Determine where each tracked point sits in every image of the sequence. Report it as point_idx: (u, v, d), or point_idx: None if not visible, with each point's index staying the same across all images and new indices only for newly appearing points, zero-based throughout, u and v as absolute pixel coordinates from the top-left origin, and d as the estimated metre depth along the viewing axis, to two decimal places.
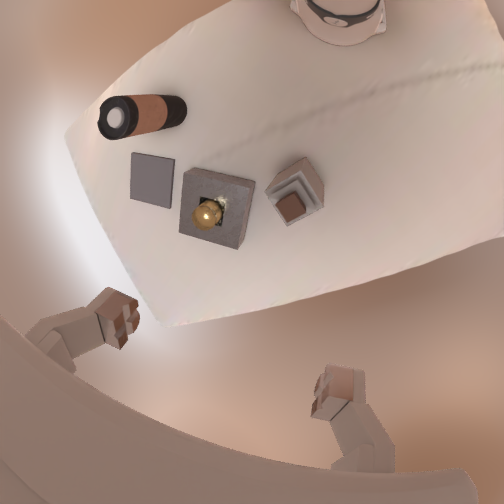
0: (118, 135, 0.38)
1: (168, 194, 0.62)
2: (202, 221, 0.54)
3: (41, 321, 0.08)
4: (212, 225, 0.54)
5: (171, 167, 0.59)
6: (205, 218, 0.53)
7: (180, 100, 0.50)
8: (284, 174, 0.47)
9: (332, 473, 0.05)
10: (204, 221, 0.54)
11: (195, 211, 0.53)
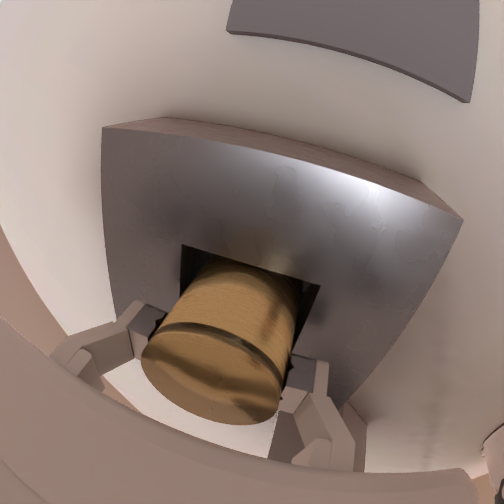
0: None
1: (301, 31, 0.09)
2: (189, 383, 0.09)
3: (67, 339, 0.08)
4: (183, 405, 0.10)
5: (441, 81, 0.08)
6: (210, 398, 0.09)
7: None
8: None
9: (332, 473, 0.05)
10: (192, 390, 0.09)
11: (245, 374, 0.07)
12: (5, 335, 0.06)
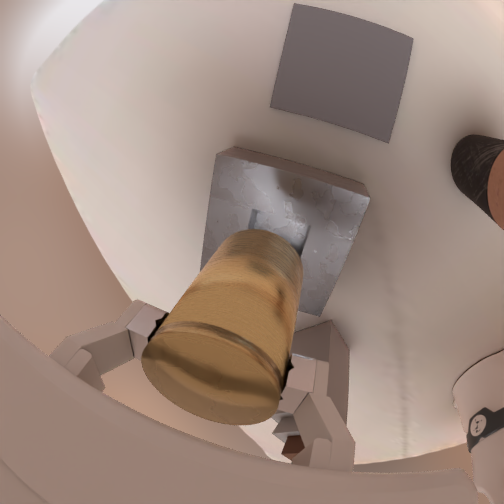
0: None
1: (305, 111, 0.24)
2: (189, 382, 0.09)
3: (67, 339, 0.08)
4: (183, 405, 0.10)
5: (372, 134, 0.23)
6: (210, 398, 0.09)
7: None
8: (337, 374, 0.30)
9: (332, 473, 0.05)
10: (192, 389, 0.09)
11: (245, 372, 0.08)
12: (5, 335, 0.06)
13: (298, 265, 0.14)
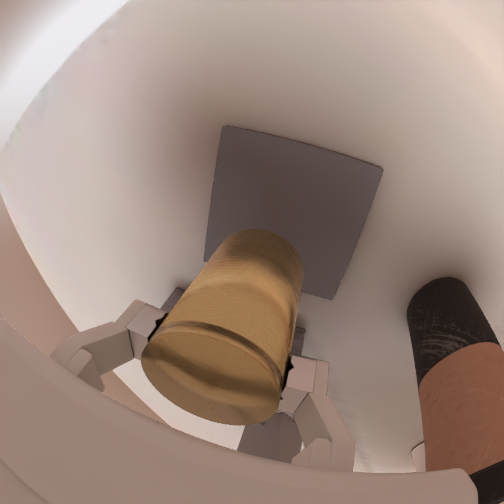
0: None
1: None
2: (189, 382, 0.09)
3: (67, 339, 0.08)
4: (183, 405, 0.10)
5: (314, 292, 0.24)
6: (210, 398, 0.09)
7: None
8: (283, 461, 0.31)
9: (332, 473, 0.05)
10: (192, 389, 0.09)
11: (245, 372, 0.07)
12: (5, 335, 0.06)
13: (299, 265, 0.14)
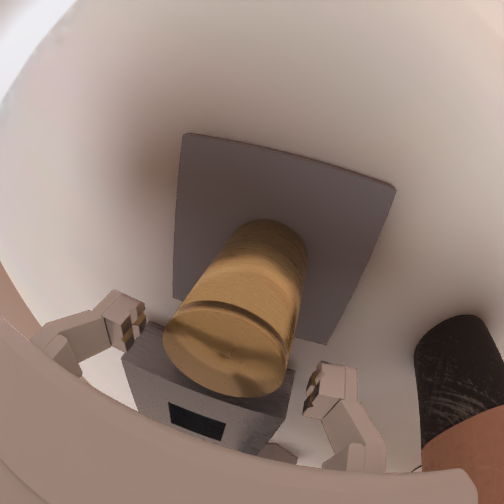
0: None
1: None
2: (205, 356, 0.10)
3: (46, 325, 0.08)
4: (198, 380, 0.11)
5: (304, 336, 0.19)
6: (224, 370, 0.10)
7: None
8: None
9: (332, 473, 0.05)
10: (208, 363, 0.10)
11: (255, 344, 0.09)
12: (5, 335, 0.06)
13: (303, 252, 0.15)
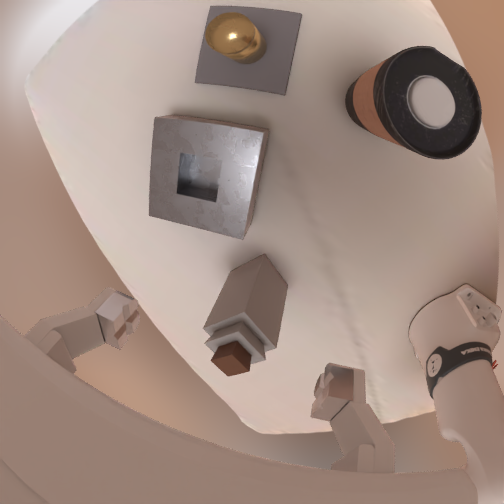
0: (388, 96, 0.13)
1: (219, 82, 0.31)
2: (223, 31, 0.21)
3: (41, 321, 0.08)
4: (217, 49, 0.22)
5: (270, 90, 0.30)
6: (230, 35, 0.21)
7: None
8: (266, 296, 0.37)
9: (332, 473, 0.05)
10: (223, 34, 0.21)
11: (242, 17, 0.20)
12: (5, 335, 0.06)
13: None
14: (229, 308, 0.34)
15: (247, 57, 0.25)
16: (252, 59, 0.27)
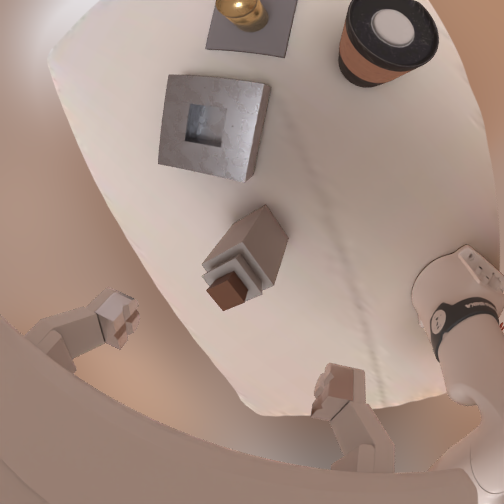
0: (355, 23, 0.14)
1: (227, 47, 0.32)
2: None
3: (41, 321, 0.08)
4: (225, 13, 0.23)
5: (271, 53, 0.31)
6: (236, 3, 0.22)
7: None
8: (266, 238, 0.38)
9: (332, 473, 0.05)
10: (231, 2, 0.22)
11: None
12: (5, 335, 0.06)
13: None
14: (228, 244, 0.35)
15: (251, 23, 0.27)
16: (255, 26, 0.28)
